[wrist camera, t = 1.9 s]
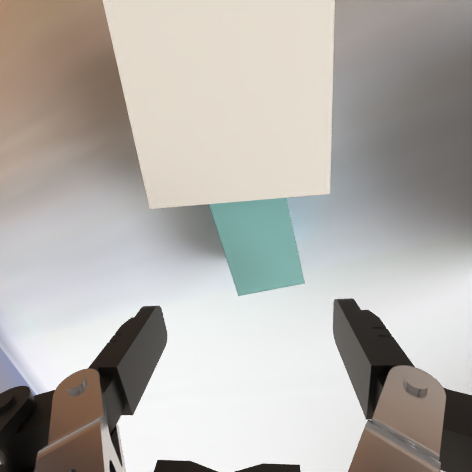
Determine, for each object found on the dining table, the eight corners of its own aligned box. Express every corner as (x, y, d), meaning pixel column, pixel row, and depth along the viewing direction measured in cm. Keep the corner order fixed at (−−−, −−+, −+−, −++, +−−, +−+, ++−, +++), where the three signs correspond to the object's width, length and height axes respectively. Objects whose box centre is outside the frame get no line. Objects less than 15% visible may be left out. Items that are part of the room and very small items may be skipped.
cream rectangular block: (175, 34, 17) (82, -91, 8) (294, 14, 16) (338, -154, 7) (198, 181, 20) (149, 209, 11) (297, 172, 19) (330, 193, 10)
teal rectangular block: (194, 91, 18) (164, 66, 13) (253, 70, 17) (250, 33, 12) (243, 258, 22) (238, 295, 17) (292, 248, 22) (304, 283, 16)
